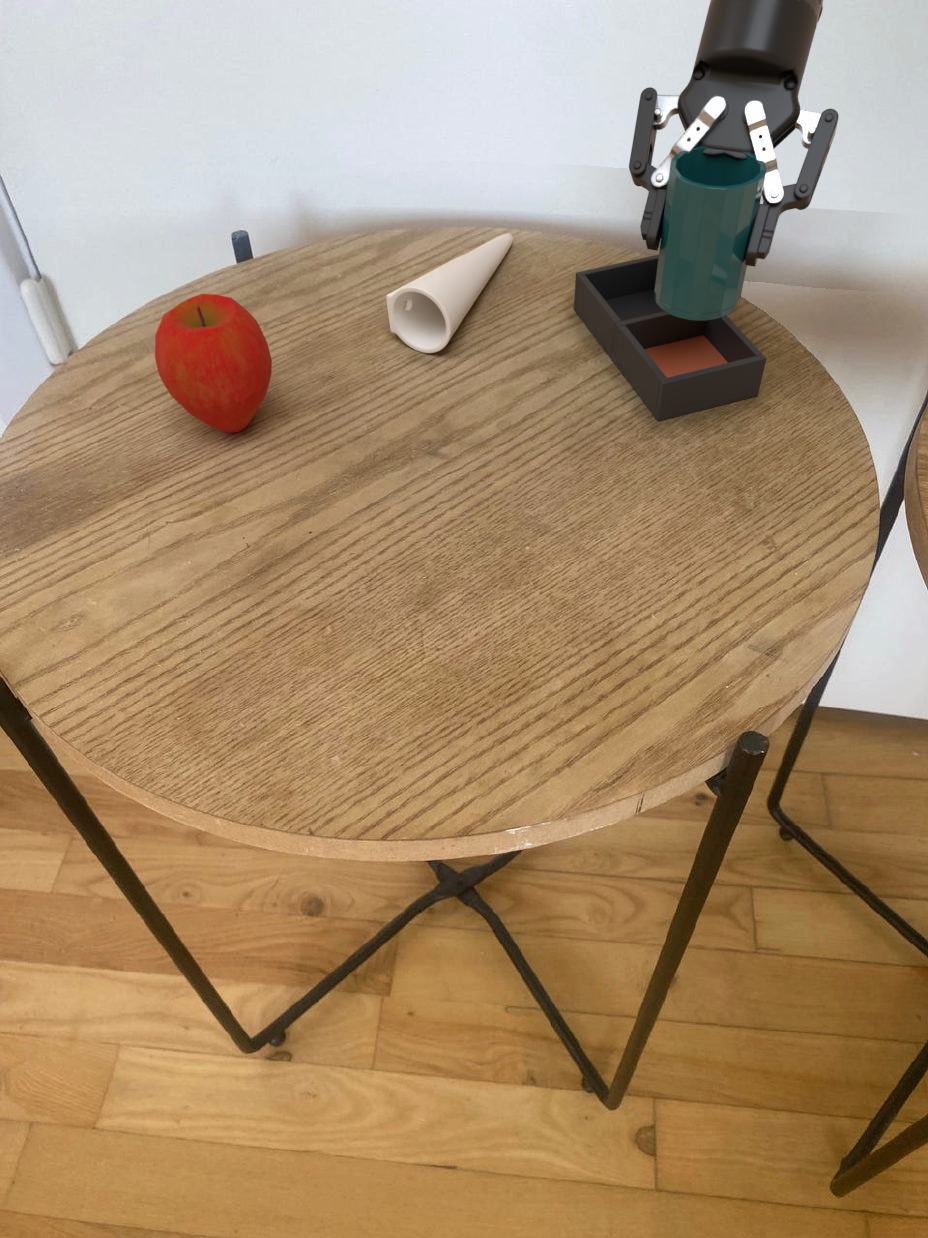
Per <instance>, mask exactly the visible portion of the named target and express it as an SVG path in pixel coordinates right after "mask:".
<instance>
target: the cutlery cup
mask: <svg viewBox="0 0 928 1238" xmlns="http://www.w3.org/2000/svg"><path fill="white" fill-rule="evenodd" d="M707 148H708V147H703V146H697V147H696V148H694V149H693V150H691V151H690V152H689V151H685V150H684V151H681V152H679V153H678V154H677V155H676V156H674V157H673V158H672V159H671V164H670V172H669V179H668V187H667V195H666V203H665V211H664V219H663V227H662V234H661V240H660V244H659V249H658V250H659V251H658V254H659V258H658V266H657V274H656V282H655V290H654V298H655V301H656V303H657V305H658V306H659V307H660V308H661V309H662V310H664V311H665V312H667V313H669V314H671V315H673V316H676V317H679V318H682V319H687V320H695V321H706V320H713V319H718V318H721V317H724V316H726V315H727V316H728V315H730V314H732V313H733V312H734V311H735V310H736V309H737V308H738V305H739V303H740V299H741V297H742V296H741V295H742V292H743V288H744V282H745V277H746V273H747V268H748V265H745V259H746V254H747V250H748V246H749V242H750V238H751V235H752V231H753V227H754V223H755V220H756V216H757V212H758V209H759V205H760V204H761V200H762V190H763V185H764V181H765V176H766V164H765V163H764V161H761V160H757V159H756V157H755V154H754V153H749V152H743V153H744V154H745V156H746V157H747V159H744V160H740V161H738V160H737V161H736V160H733V159H731V158H729V157H726V156H722V157H715V158H713V156H712V157H709V155H705V154H703V153H702V152H703V151H704V150H706V149H707Z"/></svg>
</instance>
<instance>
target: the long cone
mask: <svg viewBox="0 0 928 1238" xmlns="http://www.w3.org/2000/svg"><path fill="white" fill-rule="evenodd" d="M513 241H514V237H513V235H512V234H511V233H508V232H507V233H503V234H500V235H498V236H496V237H494V238H492V239H490V240H489V241H486V242H485V243H483V244H481V245H479V246H477V247H476V248H474V249H472V250H470V251H468V252H466V253H464V254H462V255H458V256H457V257H455V258H454V259H451V260H449V261H447V262H446V263H444V264H442V265H440V266H438V267H436V268H434V269H432V270H431V271H428V272H427V273H424V274H423V275H421V276H420V277H419V276H418V277H417V278H416V279H414V280H411V281H410V282H407V284H404V285H403V286H401V287H399V288H397V289H395V290H393V291H391V292H390V293H388V294H386V296H385V297H386V305H387V307H386V308H387V315H388V323H389V330H390V332H391V334H395V335H397V336H398V338H399V339H400V340H401V341H402V342H403V343H404V344H405V345H407V347H410V348H411V349H412V350H415V351H417V352H419V353H423V354H435V353H438V352H440V351H442V350H443V349H445V347H446V346H447V345H448V344H449V342H450V340H451V339H452V337H453V336H454V334H455V333H456V331H457V330H458V328H459V327H460V325H461V324H462V322H463V320H464V318H465V317H466V316H467V314H468V312H469V311H470V310H471V308H472V307H473V305H474V303H475V302H476V300H477V299H478V298H479V296H480V294H481V293H482V292H483V290H484V288H485V287H486V286H487V283H488V282H489V280H490V279H491V278H492V277H493V275H494V273H495V272H496V270H497V269H498V267H499V265H500V264H501V263H502V261H503V259H504V258H505V257H506V254H507V253H508V252H509V250H510V249H511V246H512V244H513ZM405 303H406V307H405V308H403V307H404V305H405Z"/></svg>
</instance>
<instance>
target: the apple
mask: <svg viewBox="0 0 928 1238" xmlns="http://www.w3.org/2000/svg"><path fill="white" fill-rule="evenodd" d="M268 343H269V342H268V341H267V339H266V336H265V335H264V333H263V330H262V329H261V326H260V324H259V322H258V320H257V319H256V318H255V317H254V316H253V314H252V313H250V312H249V311H248V310H247V308H245V307H244V306H242V305H241V304H240V303H239V302H238V301H236V300H235V299H234V298H233V297H229V296H225V295H221V294H213V293H200V294H198V295H194V296H191V297H189V298H188V299H186V300H184V301H181V302H180V303H178V304H177V305H176V306H174V307H173V308H171V309H170V310H168V311H167V312H165V313H163V315H162V318H161V320H160V323H159V325H158V327H157V329H156V331H155V335H154V361H155V364H156V365H155V366H156V368H157V372H158V376H159V377H160V380H161V382H162V383H163V385H164V387H165V389H166V390H167V392H168V393H169V395H170V396H171V397H172V398H173V399H174V400H175V401H176V403H178V404H179V405H180V406H181V407H182V408H183V409H184V410H185V411H186V412H187V413H189V414H190V415H191V416H192V417H194V418H196V419H197V420H199V421H200V422H202V423H204V424H206V425H207V426H209V427H212V428H213V429H217V430H219V431H221V432H224V433H228V434H233V433H239V432H240V431H242V430H244V429H246V427H248V425H249V424H250V423H251V421H252V419H253V418H254V416H255V415H256V413H257V411H258V410H259V408H260V406H261V404H262V403H263V401H264V399H265V397H266V395H267V392H268V390H269V385H270V381H271V378H272V370H273V369H272V368H273V367H272V366H273V365H272V364H273V360H272V356H271V352H270V347H269V344H268Z"/></svg>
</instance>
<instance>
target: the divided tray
mask: <svg viewBox="0 0 928 1238" xmlns="http://www.w3.org/2000/svg"><path fill="white" fill-rule="evenodd" d="M658 258H659V253H658V254H654V255H650V256H649V255H648V256H646V257H641V258H636V259H631V260H626V261H623V262H617V263H613V264H608V265H605V266H600V267H595V268H590V269H587V270H582V271H576V272H575V281H574V299H573V310H574V312H575V313H576V314H577V315H578V318H580V320H581V321H582V322H583V324H584V325H585V326H586V327H587V329H588V331H589V332H590V333H591V334H592V335H593V337H594V339H595V340H596V341H597V342H598V344H599V345H600V346H601V348H602V349H603V351H605V353H606V354H607V356H608V357H609V358H610V360H611V361H612V362H613V364H614V365H615V367H616V368H617V369H618V370H619V372H620V373H621V374H622V375H623V377H624V378H625V379H626V381H627V382H628V384H629V385H630V386H631V388H632V389H633V390H634V391H635V393H636V394H637V396H638V397H639V398H640V400H641V401H642V402H643V403H644V405H645V406H646V407H647V409H648V410H649V411H650V413H651V414H652V415H653V417H654V418H655V419H656V421H657V422H662V421H665V420H670V419H673V418H676V417H681V416H684V415H688V414H693V413H696V412H700V411H704V410H708V409H712V408H716V407H720V406H724V405H728V404H731V403H736V402H740V401H744V400H748V399H751V398H757V397H758V396H759V392H760V388H761V387H760V386H761V384H762V380H763V375H764V371H765V367H766V363H767V362H766V361H767V357H766V356H765V354H763V352H761V351H760V349H759V348H758V347H757V346H756V345H755V344H754V343H753V342H752V340H751V339H749V338H748V337H747V335H745V333H744V332H743V331H742V330H741V329H740V327H738V325H737V324H736V323H735V322H734V321H733V320H731V318H730V317H729V316H728V315H726V316H724V317H721V318H718V319H713V320H706V321H695V320H687V319H682V318H679V317H676V316H673V315H671V314H669V313H667V312H665V311H664V310H662V309H661V308H660V307H659V306H658V305H657V303H656V301H655V298H654V290H655V282H656V274H657V266H658Z"/></svg>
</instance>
